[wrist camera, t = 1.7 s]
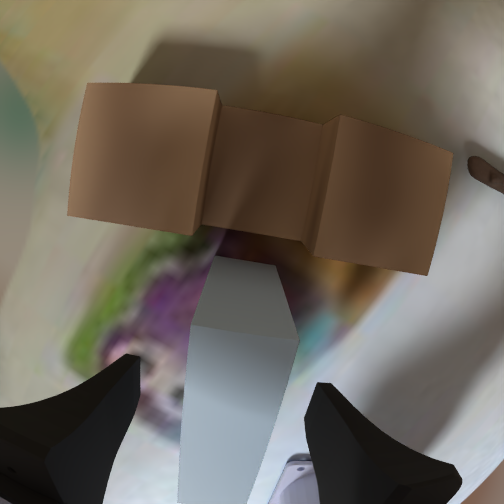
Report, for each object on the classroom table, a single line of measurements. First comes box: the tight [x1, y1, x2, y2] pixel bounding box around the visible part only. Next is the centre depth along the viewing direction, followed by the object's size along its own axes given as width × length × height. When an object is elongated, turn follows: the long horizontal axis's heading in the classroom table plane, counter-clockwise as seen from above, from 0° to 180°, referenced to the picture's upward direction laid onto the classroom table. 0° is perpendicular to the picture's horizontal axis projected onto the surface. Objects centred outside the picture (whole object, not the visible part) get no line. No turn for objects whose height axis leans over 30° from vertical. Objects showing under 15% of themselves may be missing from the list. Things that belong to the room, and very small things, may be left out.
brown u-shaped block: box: [67, 83, 453, 276], centre depth 12 cm, size 14×5×4 cm, turn 80°
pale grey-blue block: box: [177, 256, 300, 504], centre depth 12 cm, size 3×9×7 cm, turn 170°
